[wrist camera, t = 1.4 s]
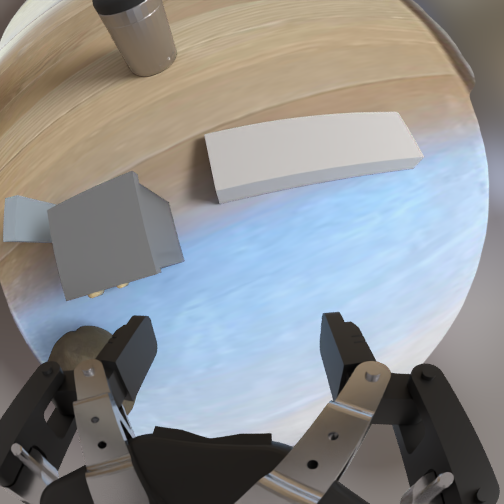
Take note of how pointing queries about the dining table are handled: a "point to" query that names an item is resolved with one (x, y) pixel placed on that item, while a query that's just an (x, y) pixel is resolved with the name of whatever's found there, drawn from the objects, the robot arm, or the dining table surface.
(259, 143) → the decorative molding
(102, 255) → the charcoal cabinet
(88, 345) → the dark brown round piece
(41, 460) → the robot arm
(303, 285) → the dining table surface
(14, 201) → the slate door
